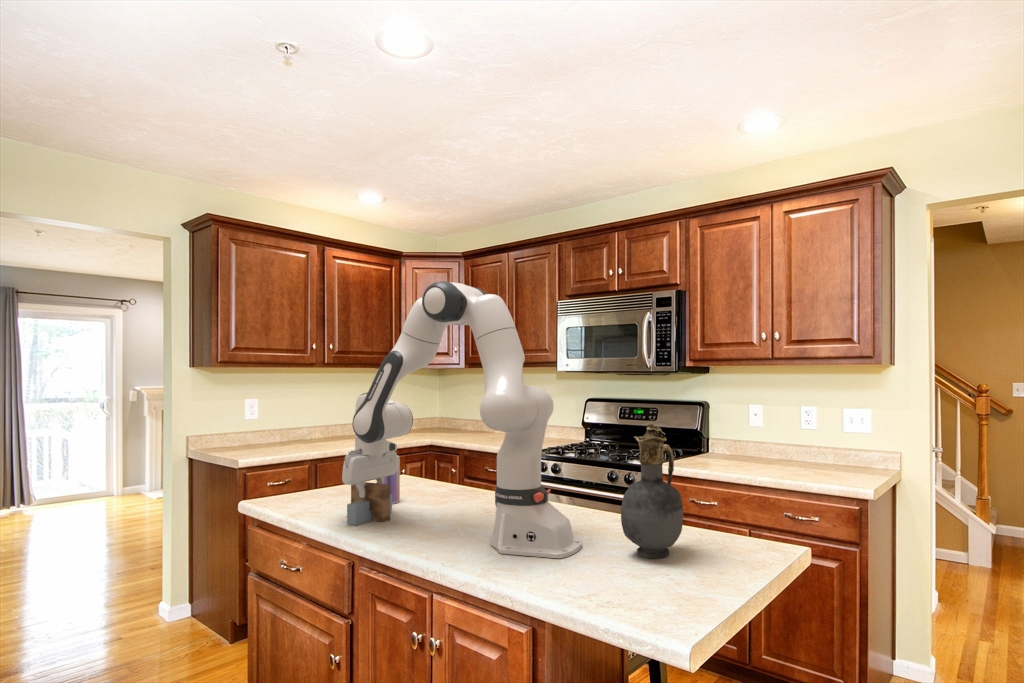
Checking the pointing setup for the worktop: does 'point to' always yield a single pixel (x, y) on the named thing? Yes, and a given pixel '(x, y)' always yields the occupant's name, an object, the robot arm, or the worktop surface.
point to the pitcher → (652, 500)
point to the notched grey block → (361, 512)
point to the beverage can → (394, 483)
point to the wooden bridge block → (375, 499)
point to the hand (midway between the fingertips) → (370, 495)
